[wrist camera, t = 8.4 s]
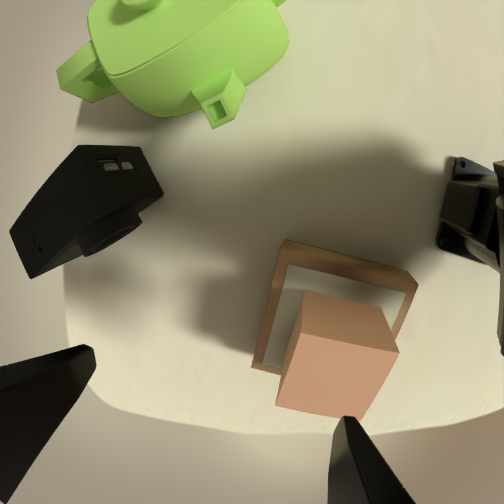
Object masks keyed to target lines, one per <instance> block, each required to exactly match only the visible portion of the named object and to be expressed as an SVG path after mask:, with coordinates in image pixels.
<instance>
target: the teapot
mask: <svg viewBox="0 0 504 504" xmlns="http://www.w3.org/2000/svg"><path fill="white" fill-rule="evenodd" d="M285 1H286V0H96V1H95V2H94V4H93V5H92V6H91V8H90V10H89V12H88V17H87V20H88V28H89V33H90V36H91V41H90V42H88V43H87V44H86V45H85V46H84V47H82V48H81V49H80V50H79V51H77V52H76V53H75V54H74V55H73V56H72V57H71V58H69V59H68V60H67V61H66V62H65V63H64V64H63V65H62V66H61V67H59V68H58V69H57V76H58V80H59V85H60V89H61V90H63V91H66V92H68V93H70V94H73V95H75V96H77V97H80V98H82V99H84V100H86V101H89V102H91V103H94V102H96V101H98V100H101V99H103V98H105V97H108V96H110V95H113V94H116V93H118V92H120V93H121V94H122V95H123V96H124V97H125V98H126V99H127V100H128V101H129V102H130V103H132V104H133V105H134V106H135V107H137V108H139V109H141V110H143V111H145V112H147V113H149V114H151V115H154V116H158V117H173V116H178V115H182V114H185V113H189V112H192V111H195V110H198V109H200V108H201V109H202V110H203V112H204V113H205V115H206V117H207V119H208V121H209V123H210V125H211V127H212V129H215V128H217V127H219V126H221V125H223V124H225V123H227V122H229V121H231V120H233V119H235V117H236V114H237V111H238V109H239V106H240V104H241V102H242V99H243V97H244V94H245V92H246V89H245V86H247V85H249V84H250V83H252V82H253V81H255V80H256V79H257V78H259V77H260V76H262V75H263V74H264V73H266V72H267V71H268V70H270V69H271V68H272V67H273V66H274V65H275V64H277V63H278V62H279V61H280V60H281V58H282V57H283V56H284V55H285V53H286V51H287V48H288V45H289V37H288V32H287V28H286V26H285V24H284V22H283V20H282V18H281V16H280V14H279V12H278V10H277V7H278V6H279V5H281V4H282V3H283V2H285ZM101 66H102V68H103V69H101V70H99V71H96V70H97V69H98V68H100V67H101Z"/></svg>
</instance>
